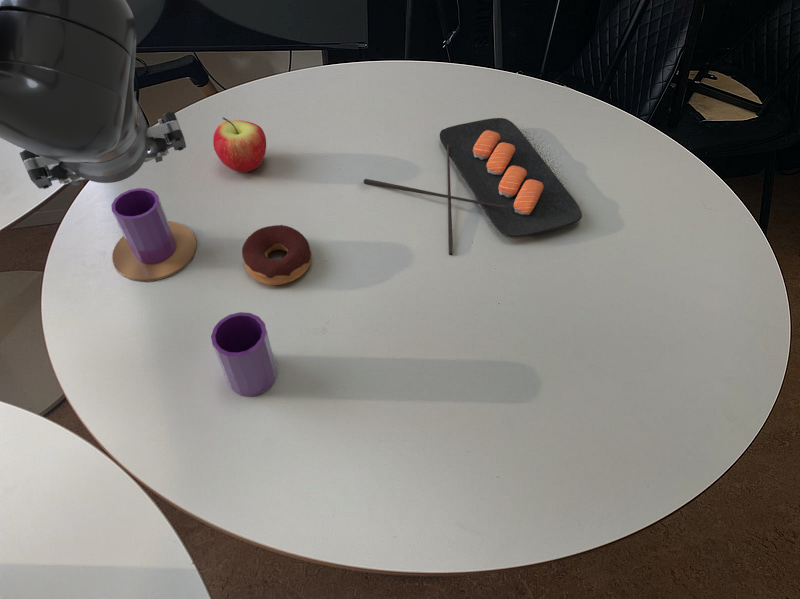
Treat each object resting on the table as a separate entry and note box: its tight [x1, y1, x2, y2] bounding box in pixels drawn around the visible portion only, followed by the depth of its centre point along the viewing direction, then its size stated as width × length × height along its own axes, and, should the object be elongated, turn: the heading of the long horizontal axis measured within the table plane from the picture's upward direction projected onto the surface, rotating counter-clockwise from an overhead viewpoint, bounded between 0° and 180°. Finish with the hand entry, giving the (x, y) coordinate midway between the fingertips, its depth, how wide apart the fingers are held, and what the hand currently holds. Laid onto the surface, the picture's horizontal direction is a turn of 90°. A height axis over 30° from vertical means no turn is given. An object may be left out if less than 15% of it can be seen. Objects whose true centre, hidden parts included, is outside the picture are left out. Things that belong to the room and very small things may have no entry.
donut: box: [241, 224, 313, 286], centre depth 87 cm, size 10×10×4 cm
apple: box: [212, 116, 267, 173], centre depth 98 cm, size 8×8×10 cm
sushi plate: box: [363, 117, 583, 256], centre depth 98 cm, size 29×30×4 cm
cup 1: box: [111, 187, 176, 264], centre depth 85 cm, size 6×6×9 cm
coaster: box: [111, 220, 198, 282], centre depth 89 cm, size 12×12×1 cm
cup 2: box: [210, 311, 278, 397], centre depth 73 cm, size 6×6×9 cm
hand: (115, 163), depth 64 cm, fingers open, 8 cm apart
